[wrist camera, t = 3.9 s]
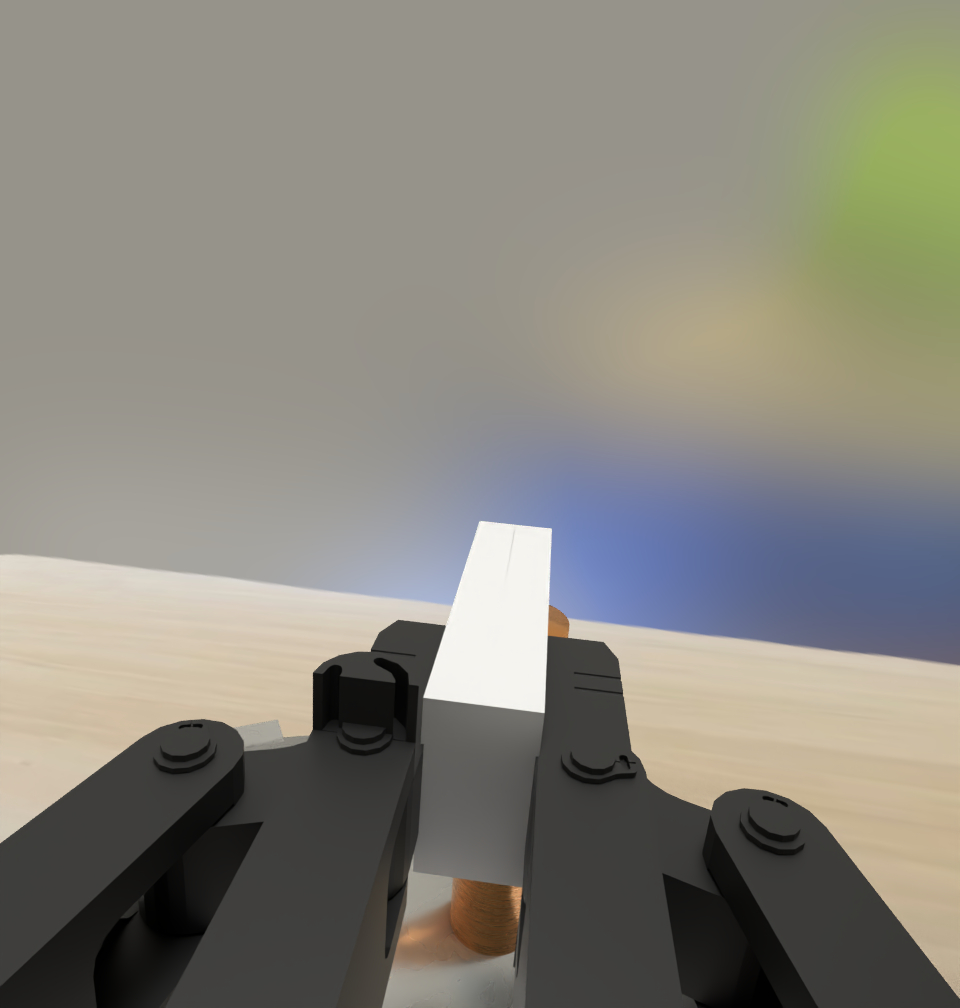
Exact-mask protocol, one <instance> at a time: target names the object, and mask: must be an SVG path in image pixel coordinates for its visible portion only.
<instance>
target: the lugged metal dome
mask: <svg viewBox="0 0 960 1008" xmlns="http://www.w3.org/2000/svg"><path fill="white" fill-rule="evenodd" d="M568 632H569V621H568V619H567V617H566V616H565V615H564V614H563V613H562V612H561V611H560V610H558V609H556V608H555V607H553V606H551V605H549V611H548V636H556V637H564V638H568ZM234 729H236V730H237V731H238V733H239V734H240V736H241V737H242V739H243V740H244V751H254V750H266V749H277V748H283V747H289V746H294V745H297V744H300V743H303V742H307V740H308V738H309V736H297V737H284V738H283V735H282V732H281V729H280V725H279V722H278V720H273V721H268V722H262V723H257V724H252V725H246V726H241V727H236V728H234ZM413 862H414V854H413V858H412V862H411V866H410V870H409V874H408V887H407V905H406V909H405V914H404V918H403V922H402V926H401V930H400V935H399V939H398V943H397V947H396V951H395V955H394V960H393V964H392V968H391V972H390V976H389V981H388V985H387V989H386V993H385V997H384V1001H383V1006H382V1008H512V1007H513V992H514V978H515V967H513V962H514V954H515V946H516V937H517V929H518V921H519V912H520V904H521V896H522V887H515V886H508V885H501V884H494V883H488V882H481V881H474V880H467V879H460V878H453V877H446V876H440V875H433V874H426V873H419V872H413Z"/></svg>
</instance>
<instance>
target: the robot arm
mask: <svg viewBox="0 0 960 1008" xmlns="http://www.w3.org/2000/svg"><path fill="white" fill-rule="evenodd" d="M551 533H552V529H548V528H538V527H529V526H520V525H511V524H502V523H493V522H483V521H480V522H479V525H478V528H477V531H476V534H475V538H474V541H473V544H472V547H471V550H470V553H469V557H468V559H467V563H466V566H465V569H464V572H463V575H462V578H461V581H460V584H459V587H458V591H457V594H456V597H455V600H454V603H453V606H452V609H451V612H450V616H449V619H448V622H447V625H446V626H445V625H436V624H428V623H420V622H411V621H403V620H397V621H396V622H394V623H393V624H391V625H390V626H389V627H387V628H386V629H384V630H383V631H381V632H380V633H379V634H378V636H377V638H376V640H375V642H374V644H373V646H372V648H371V652H354V653H349V654H344V655H339V656H337V657H335V658H332V659H330V660H328V661H326V662H323V663H322V664H321V665H320V666H319V667H318V668H317V669H316V670H315V671H314V672H313V730H312V732H311V734H310V736H309V738H308V740H307V742H303V743H300V744H297V745H294V746H289V747H283V748H277V749H266V750H254V751H244V740H243V739H242V737H241V736H240V734H239V733H238V731H237V730H236V729H234V728H232V727H230V726H228V725H227V724H225V723H223V722H217V721H211V720H205V719H200V720H188V721H180V722H176V723H173V724H170V725H166V726H163V727H160V728H158V729H156V730H154V731H153V732H151V733H149V734H147V735H145V736H144V737H142V738H140V739H139V740H138V741H136V742H135V743H134V744H132V745H131V746H130V747H128V748H127V749H126V750H124V751H123V752H122V753H120V754H119V755H118V756H116V757H115V758H114V759H112V760H111V761H110V762H108V763H107V764H106V765H104V766H103V767H102V768H100V769H99V770H98V771H96V772H95V773H94V774H92V775H91V776H90V777H88V778H87V779H86V780H84V781H83V782H82V783H80V784H79V785H78V786H76V787H75V788H74V789H72V790H71V791H70V792H68V793H67V794H66V795H64V796H63V797H62V798H60V799H59V800H58V801H56V802H55V803H54V804H52V805H51V806H50V807H48V808H47V809H46V810H44V811H43V812H42V813H40V814H39V815H38V816H36V817H35V818H34V819H32V820H31V821H30V822H28V823H27V824H26V825H24V826H23V827H22V828H20V829H19V830H18V831H16V832H15V833H14V834H12V835H11V836H10V837H8V838H7V839H6V840H4V841H3V842H2V843H0V1008H382V1006H383V1001H384V997H385V993H386V989H387V985H388V981H389V976H390V972H391V968H392V964H393V960H394V955H395V951H396V947H397V943H398V939H399V935H400V930H401V926H402V922H403V918H404V914H405V909H406V905H407V887H408V874H409V870H410V866H411V862H412V858H413V854H414V862H413V872H419V873H426V874H433V875H440V876H446V877H453V878H460V879H467V880H474V881H481V882H488V883H494V884H501V885H508V886H515V887H522V896H521V904H520V912H519V921H518V929H517V937H516V946H515V954H514V962H513V967H515V978H514V992H513V1007H512V1008H960V999H959V998H958V996H957V995H956V994H955V993H954V991H953V990H952V989H951V987H950V986H949V985H948V984H947V982H946V981H945V980H944V978H943V977H942V976H941V974H940V973H939V972H938V971H937V969H936V968H935V967H934V965H933V964H932V963H931V962H930V960H929V959H928V958H927V956H926V955H925V954H924V953H923V951H922V950H921V949H920V947H919V946H918V945H917V944H916V942H915V941H914V940H913V938H912V937H911V936H910V935H909V933H908V932H907V931H906V929H905V928H904V927H903V926H902V924H901V923H900V922H899V920H898V919H897V918H896V917H895V915H894V914H893V913H892V911H891V910H890V909H889V908H888V906H887V905H886V904H885V902H884V901H883V900H882V899H881V897H880V896H879V895H878V893H877V892H876V891H875V889H874V888H873V887H872V886H871V884H870V883H869V882H868V880H867V879H866V878H865V877H864V875H863V874H862V873H861V871H860V870H859V869H858V868H857V866H856V865H855V864H854V862H853V861H852V860H851V859H850V857H849V856H848V855H847V853H846V852H845V851H844V850H843V848H842V847H841V846H840V844H839V843H838V842H837V841H836V839H835V838H834V837H833V835H832V834H831V833H830V832H829V830H828V829H827V828H826V827H825V826H824V825H823V824H822V823H821V822H820V821H819V820H818V819H817V818H816V817H815V816H814V815H813V814H812V813H811V812H810V811H808V810H807V809H805V808H803V807H802V806H800V805H798V804H797V803H795V802H793V801H792V800H790V799H788V798H785V797H782V796H780V795H777V794H774V793H771V792H768V791H764V790H754V789H745V788H743V789H738V790H733V791H728V792H725V793H724V794H723V795H721V796H720V797H719V798H717V799H716V800H715V801H714V804H713V807H712V811H711V810H708V809H706V808H703V807H700V806H697V805H695V804H692V803H689V802H686V801H684V800H681V799H679V798H677V797H675V796H672V795H670V794H668V793H666V792H665V791H663V790H662V789H660V788H658V787H657V786H655V785H654V784H653V783H651V782H650V781H649V780H648V779H647V776H646V772H645V770H644V767H643V765H642V763H641V761H640V759H639V758H638V757H637V756H636V755H635V754H634V753H633V752H632V751H631V745H630V738H629V731H628V724H627V717H626V710H625V703H624V697H623V689H622V682H621V675H620V668H619V661H618V659H617V657H616V656H615V655H614V654H613V653H612V651H611V650H610V649H609V648H608V647H607V646H606V644H605V643H604V642H598V641H589V640H581V639H572V638H564V637H556V636H548V611H549V585H550V559H551Z"/></svg>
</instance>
